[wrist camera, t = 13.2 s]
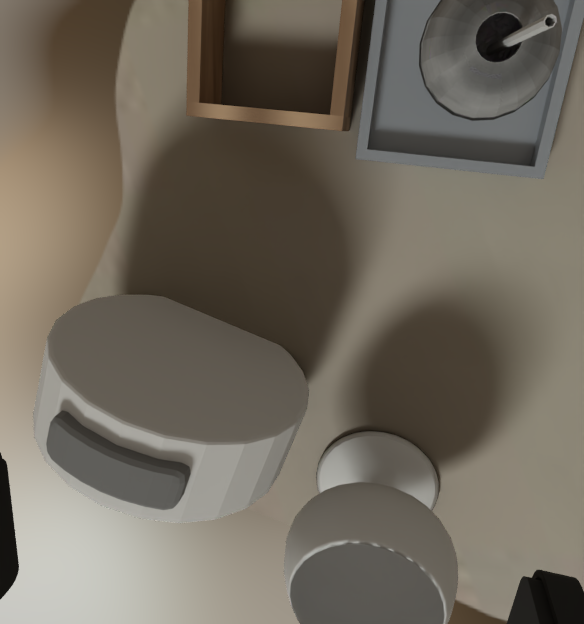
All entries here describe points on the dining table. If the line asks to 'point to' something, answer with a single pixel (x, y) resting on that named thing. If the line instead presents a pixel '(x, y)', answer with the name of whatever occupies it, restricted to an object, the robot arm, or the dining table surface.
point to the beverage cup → (488, 54)
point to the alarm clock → (165, 408)
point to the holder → (207, 103)
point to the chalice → (371, 539)
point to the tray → (441, 124)
